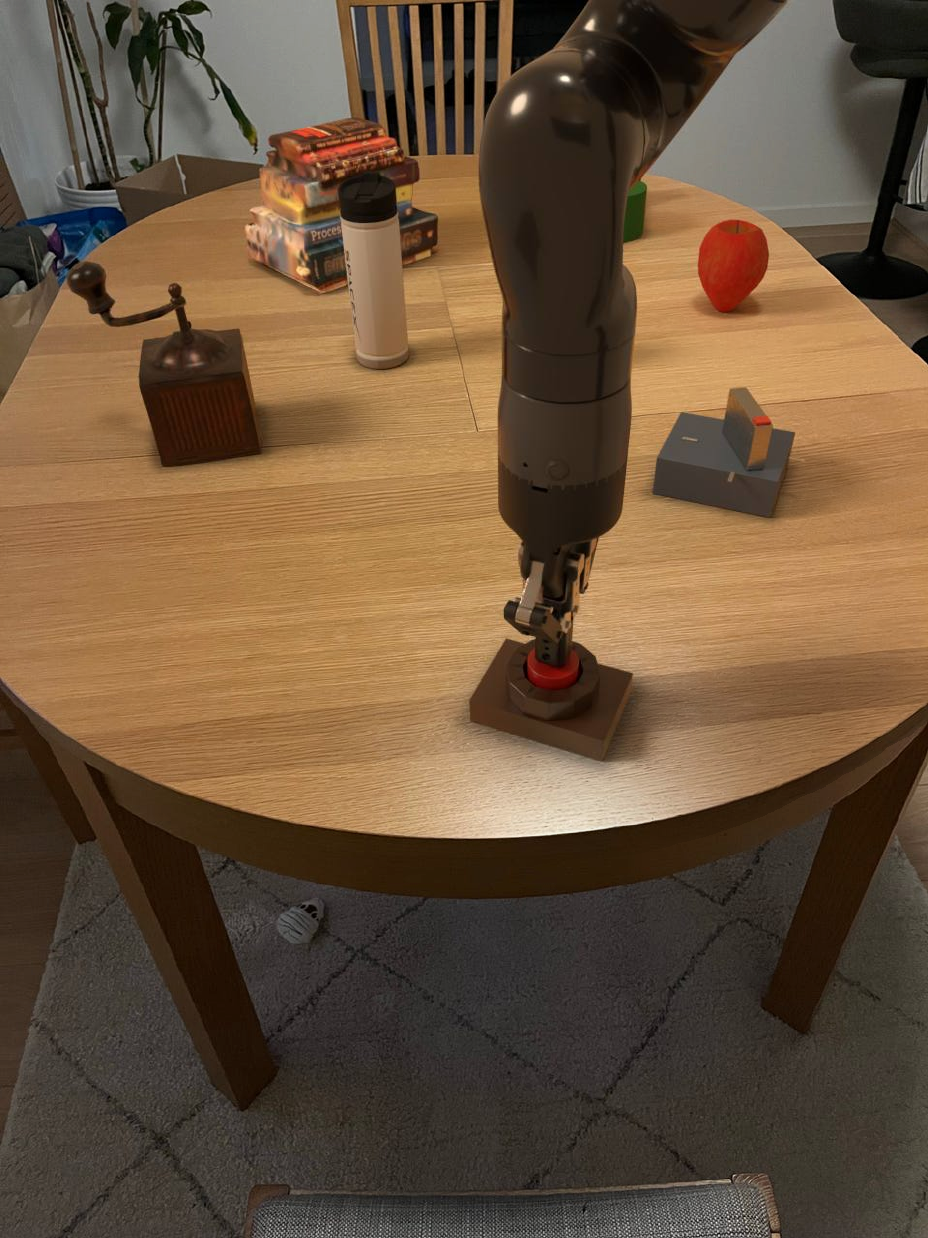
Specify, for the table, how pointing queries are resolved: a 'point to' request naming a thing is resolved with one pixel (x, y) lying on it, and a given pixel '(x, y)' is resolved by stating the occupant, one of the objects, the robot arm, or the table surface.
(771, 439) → the grey slotted base
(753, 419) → the red-tipped tan bar
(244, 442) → the manual coffee grinder
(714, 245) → the apple
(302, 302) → the table surface
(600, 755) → the button block
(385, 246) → the travel mug
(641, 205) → the slotted cylinder bracket
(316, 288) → the book
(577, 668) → the red push button
